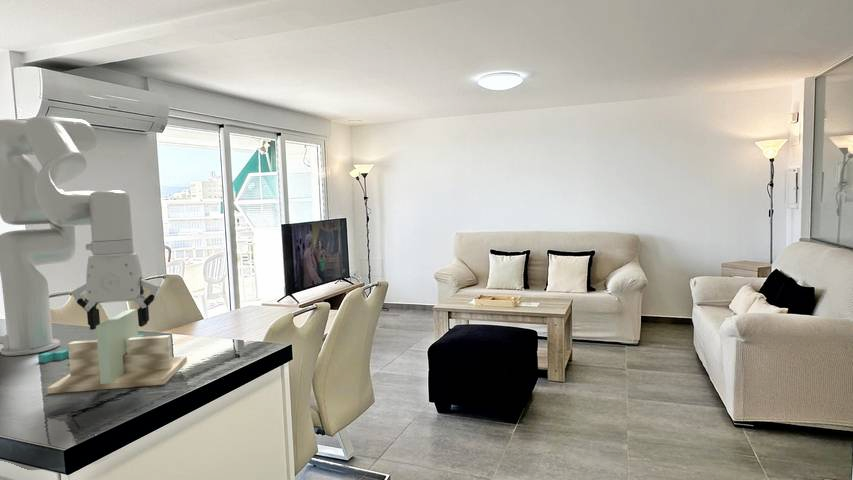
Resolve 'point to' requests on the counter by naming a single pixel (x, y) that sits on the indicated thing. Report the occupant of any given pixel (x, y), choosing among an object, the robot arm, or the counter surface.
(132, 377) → the cross stand
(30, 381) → the counter surface
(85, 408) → the counter surface
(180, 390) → the counter surface
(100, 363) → the slotted plate
